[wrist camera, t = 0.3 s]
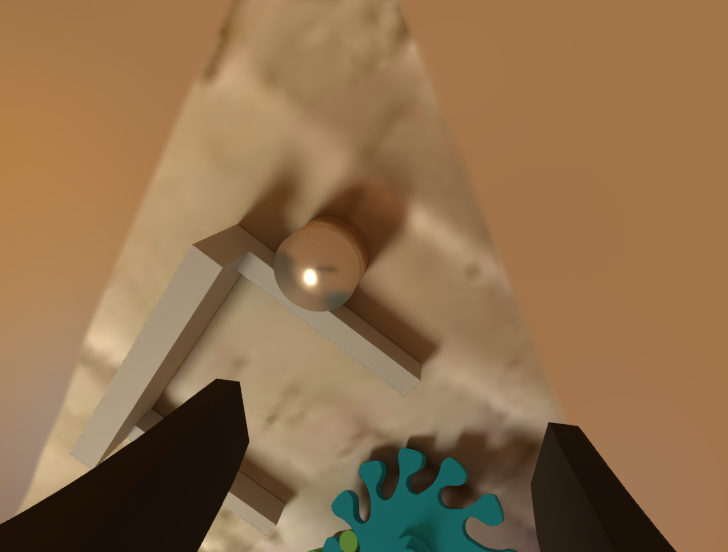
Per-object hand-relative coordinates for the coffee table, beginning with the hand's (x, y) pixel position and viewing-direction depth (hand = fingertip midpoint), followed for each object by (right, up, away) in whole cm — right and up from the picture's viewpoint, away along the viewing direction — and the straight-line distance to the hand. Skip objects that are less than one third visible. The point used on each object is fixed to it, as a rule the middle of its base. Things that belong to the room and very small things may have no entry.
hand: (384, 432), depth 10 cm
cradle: (-6, -3, +13) cm, 15 cm away
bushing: (-2, +5, +10) cm, 11 cm away
